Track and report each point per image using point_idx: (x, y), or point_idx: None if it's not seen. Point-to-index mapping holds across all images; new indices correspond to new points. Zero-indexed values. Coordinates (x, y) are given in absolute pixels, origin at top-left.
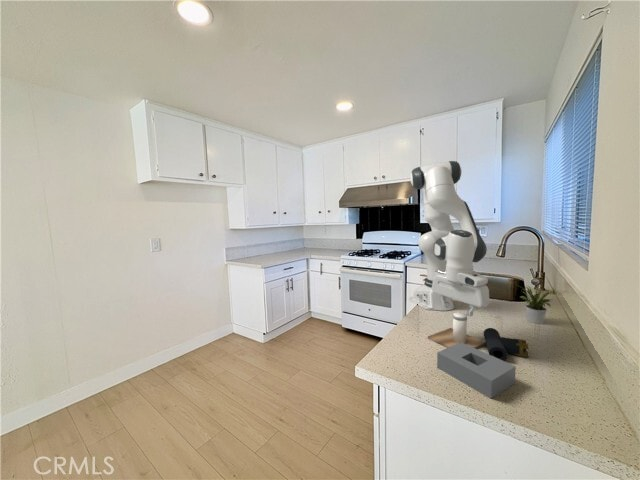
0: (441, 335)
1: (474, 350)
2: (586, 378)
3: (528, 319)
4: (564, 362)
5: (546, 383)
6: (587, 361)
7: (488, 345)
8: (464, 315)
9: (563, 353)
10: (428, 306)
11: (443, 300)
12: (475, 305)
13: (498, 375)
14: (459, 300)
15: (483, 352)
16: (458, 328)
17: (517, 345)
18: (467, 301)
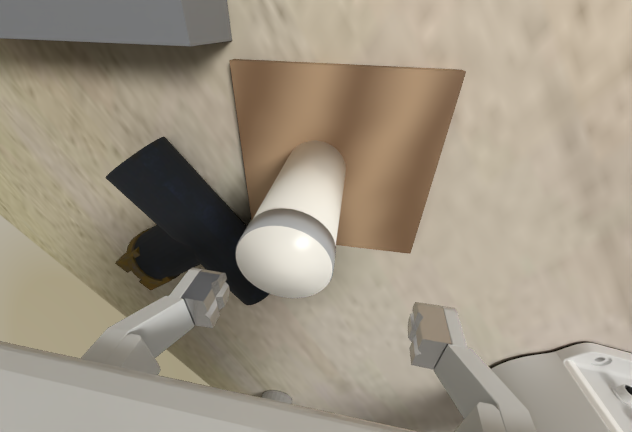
0: (405, 152)
1: (75, 6)
2: (44, 234)
3: (284, 398)
4: (112, 270)
5: (16, 131)
6: (109, 301)
7: (179, 182)
8: (260, 275)
9: (147, 305)
10: (587, 362)
11: (464, 370)
12: (21, 357)
13: None
14: (213, 397)
15: (49, 34)
16: (286, 179)
17: (137, 248)
18: (90, 397)
